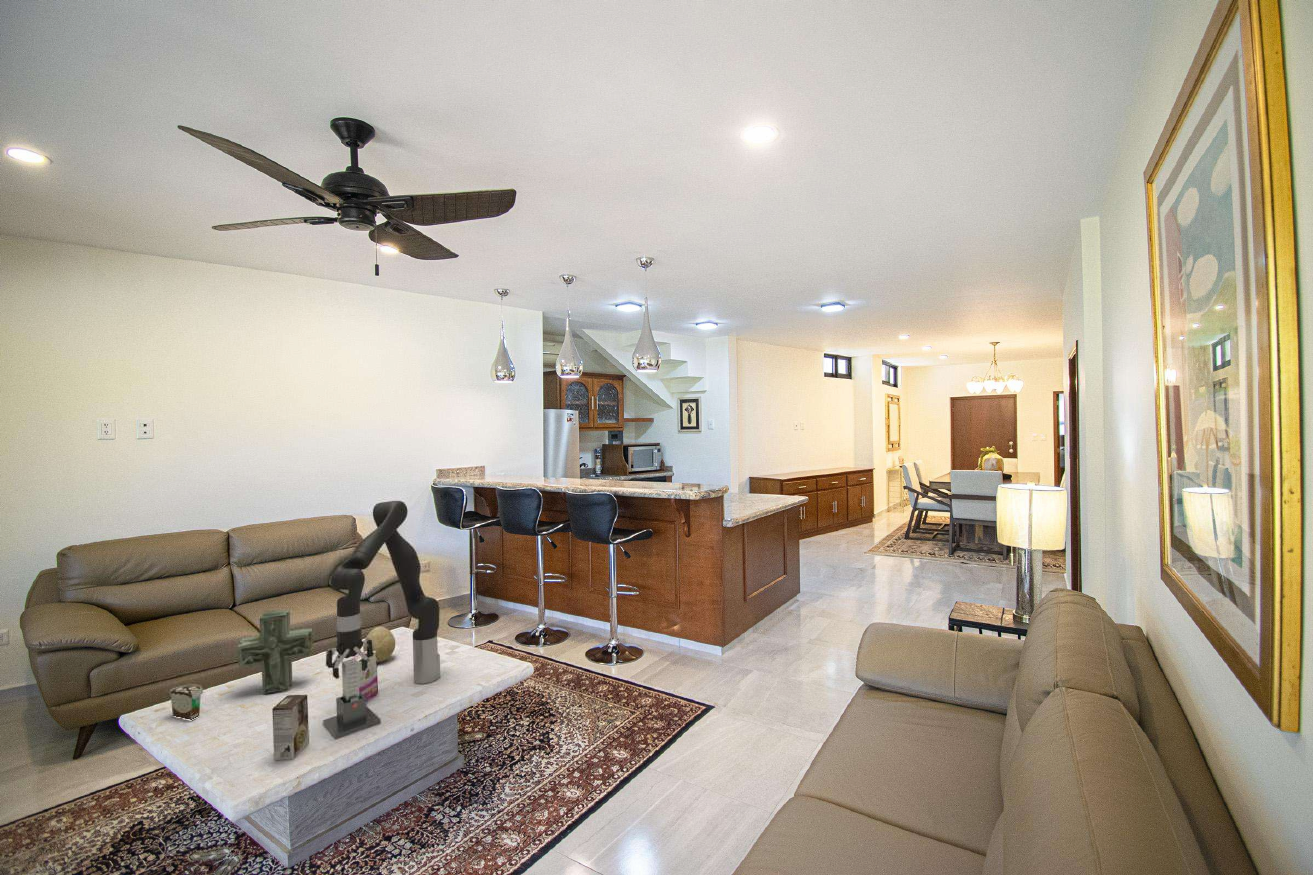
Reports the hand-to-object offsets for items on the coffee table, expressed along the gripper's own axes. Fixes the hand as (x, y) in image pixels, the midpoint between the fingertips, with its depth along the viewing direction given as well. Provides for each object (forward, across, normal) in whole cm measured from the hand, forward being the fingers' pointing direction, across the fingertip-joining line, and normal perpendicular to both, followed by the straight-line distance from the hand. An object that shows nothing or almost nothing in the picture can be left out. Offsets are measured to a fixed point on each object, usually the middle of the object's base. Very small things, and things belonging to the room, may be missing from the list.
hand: (350, 674), depth 200 cm
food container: (+17, +38, -50) cm, 65 cm away
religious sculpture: (+17, +11, -52) cm, 56 cm away
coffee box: (+17, +19, +5) cm, 26 cm away
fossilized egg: (+17, -27, -51) cm, 60 cm away
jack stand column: (+11, 0, 0) cm, 11 cm away
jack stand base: (+17, 0, 0) cm, 17 cm away
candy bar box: (+17, -9, -17) cm, 26 cm away
